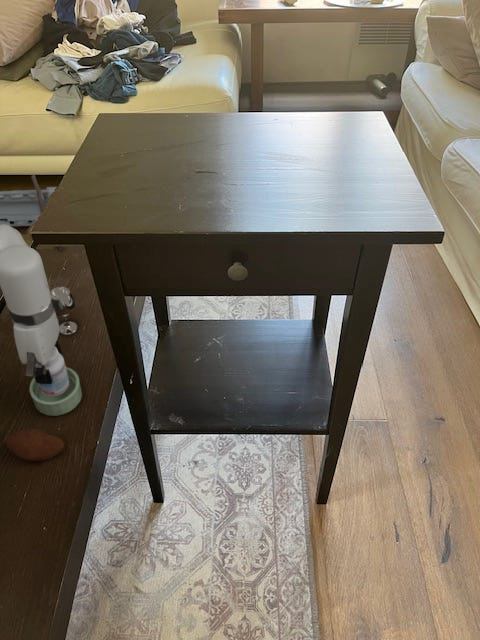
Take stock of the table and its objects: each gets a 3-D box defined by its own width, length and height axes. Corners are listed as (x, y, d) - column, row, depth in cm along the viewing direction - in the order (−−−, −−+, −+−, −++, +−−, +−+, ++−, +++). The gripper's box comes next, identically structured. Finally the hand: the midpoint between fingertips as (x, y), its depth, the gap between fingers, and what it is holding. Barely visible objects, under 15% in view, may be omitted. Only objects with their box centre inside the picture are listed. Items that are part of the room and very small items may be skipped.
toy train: (69, 190, 147) (72, 180, 160) (-32, 192, 141) (-20, 181, 154) (74, 226, 152) (77, 213, 165) (-23, 230, 146) (-13, 216, 159)
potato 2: (61, 467, 99) (55, 450, 95) (3, 464, 99) (-6, 447, 94) (69, 441, 104) (64, 423, 99) (14, 438, 103) (6, 420, 99)
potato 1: (21, 255, 138) (-2, 247, 140) (37, 261, 146) (15, 254, 148) (29, 231, 139) (6, 224, 141) (45, 239, 146) (23, 232, 148)
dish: (27, 415, 107) (22, 401, 103) (43, 377, 114) (38, 363, 111) (75, 419, 107) (71, 406, 104) (87, 381, 114) (84, 368, 111)
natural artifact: (68, 246, 148) (60, 251, 150) (36, 174, 144) (28, 179, 147) (58, 249, 144) (50, 253, 146) (25, 175, 141) (17, 180, 143)
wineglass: (64, 340, 122) (56, 305, 114) (51, 327, 125) (41, 292, 116) (84, 328, 126) (77, 294, 117) (71, 316, 128) (63, 281, 120)
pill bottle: (34, 387, 107) (22, 354, 99) (56, 370, 110) (47, 336, 102) (53, 402, 105) (43, 369, 97) (75, 384, 108) (67, 350, 100)
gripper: (27, 275, 96) (45, 337, 109) (-8, 341, 84) (16, 402, 97) (66, 279, 97) (79, 340, 110) (36, 345, 85) (55, 405, 98)
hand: (49, 368), depth 103 cm, fingers closed on pill bottle, 6 cm apart
